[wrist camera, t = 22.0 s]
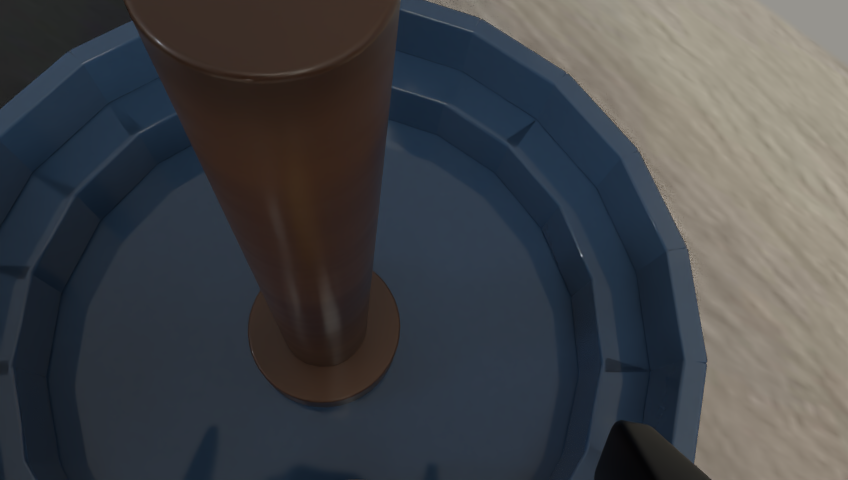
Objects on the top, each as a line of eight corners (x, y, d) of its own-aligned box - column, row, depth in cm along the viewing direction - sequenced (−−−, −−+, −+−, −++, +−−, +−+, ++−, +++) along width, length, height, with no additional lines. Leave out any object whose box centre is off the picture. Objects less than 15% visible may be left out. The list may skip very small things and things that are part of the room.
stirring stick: (425, 348, 18) (612, 18, 5) (308, 438, 17) (171, 307, 4) (342, 241, 19) (325, -271, 6) (225, 320, 18) (-110, -104, 5)
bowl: (670, 688, 17) (778, 759, 12) (-87, 735, 15) (-263, 837, 10) (591, 88, 23) (645, 1, 19) (54, 65, 21) (-20, -38, 17)
